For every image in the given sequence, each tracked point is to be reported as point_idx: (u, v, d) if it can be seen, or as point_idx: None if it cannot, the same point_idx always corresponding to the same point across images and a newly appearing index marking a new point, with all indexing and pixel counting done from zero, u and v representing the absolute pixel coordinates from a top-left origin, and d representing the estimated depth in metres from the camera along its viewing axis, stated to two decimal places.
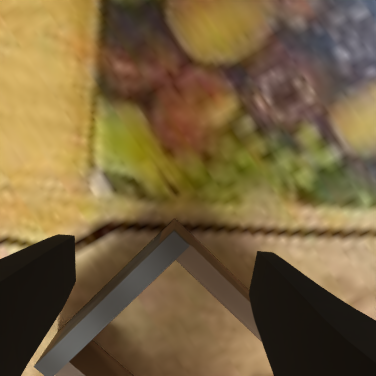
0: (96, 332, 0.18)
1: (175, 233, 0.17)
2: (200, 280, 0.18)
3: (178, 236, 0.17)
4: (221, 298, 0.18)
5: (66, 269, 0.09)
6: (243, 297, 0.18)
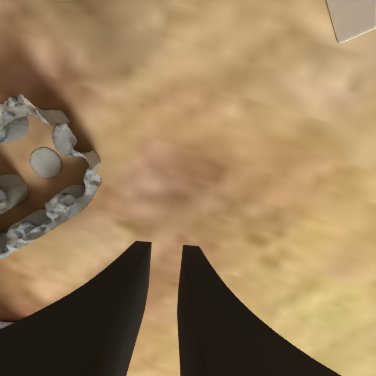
0: None
1: None
2: None
3: None
4: None
5: (147, 275, 0.09)
6: None
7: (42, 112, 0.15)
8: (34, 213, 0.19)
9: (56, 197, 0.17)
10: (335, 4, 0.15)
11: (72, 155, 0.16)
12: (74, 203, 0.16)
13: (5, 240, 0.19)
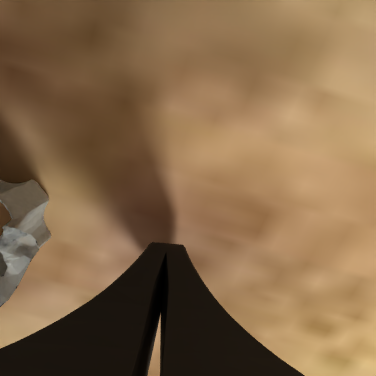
0: None
1: None
2: None
3: None
4: None
5: None
6: None
7: None
8: None
9: None
10: None
11: None
12: None
13: None
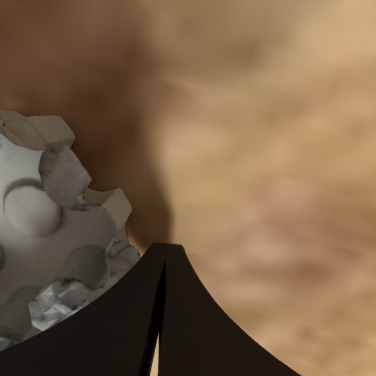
0: None
1: None
2: None
3: None
4: None
5: None
6: None
7: (15, 122, 0.07)
8: (13, 302, 0.10)
9: (51, 287, 0.09)
10: None
11: (82, 209, 0.08)
12: (87, 304, 0.08)
13: None
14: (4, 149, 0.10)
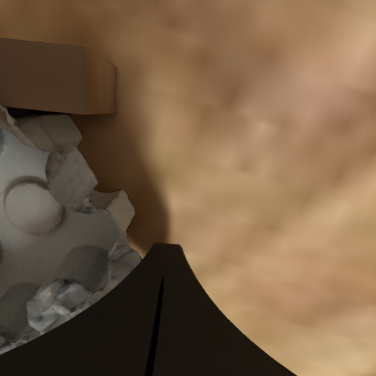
0: None
1: None
2: None
3: None
4: None
5: None
6: None
7: (24, 121, 0.07)
8: (9, 299, 0.10)
9: (50, 288, 0.08)
10: None
11: (87, 212, 0.08)
12: (86, 307, 0.08)
13: None
14: (8, 145, 0.09)
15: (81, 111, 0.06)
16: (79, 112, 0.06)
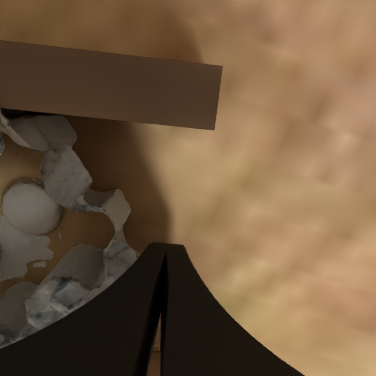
0: None
1: None
2: None
3: None
4: None
5: None
6: None
7: (19, 121, 0.07)
8: (9, 298, 0.10)
9: (47, 286, 0.09)
10: None
11: (82, 210, 0.08)
12: (84, 303, 0.08)
13: None
14: None
15: (211, 127, 0.06)
16: (209, 128, 0.06)
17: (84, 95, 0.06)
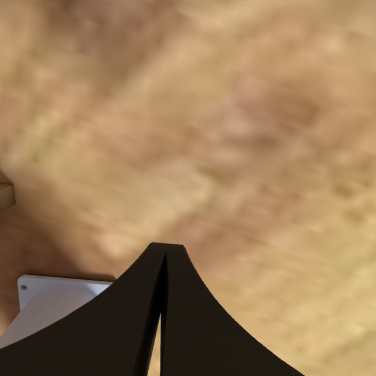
0: None
1: None
2: None
3: None
4: None
5: None
6: None
7: None
8: None
9: None
10: None
11: None
12: None
13: None
14: None
15: None
16: None
17: None
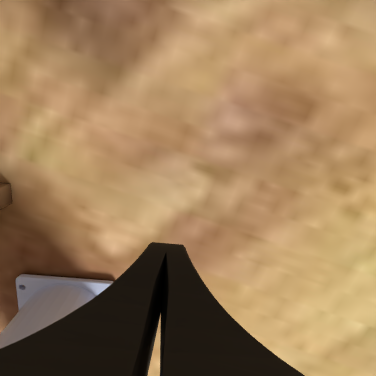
0: None
1: None
2: None
3: None
4: None
5: None
6: None
7: None
8: None
9: None
10: None
11: None
12: None
13: None
14: None
15: None
16: None
17: None
